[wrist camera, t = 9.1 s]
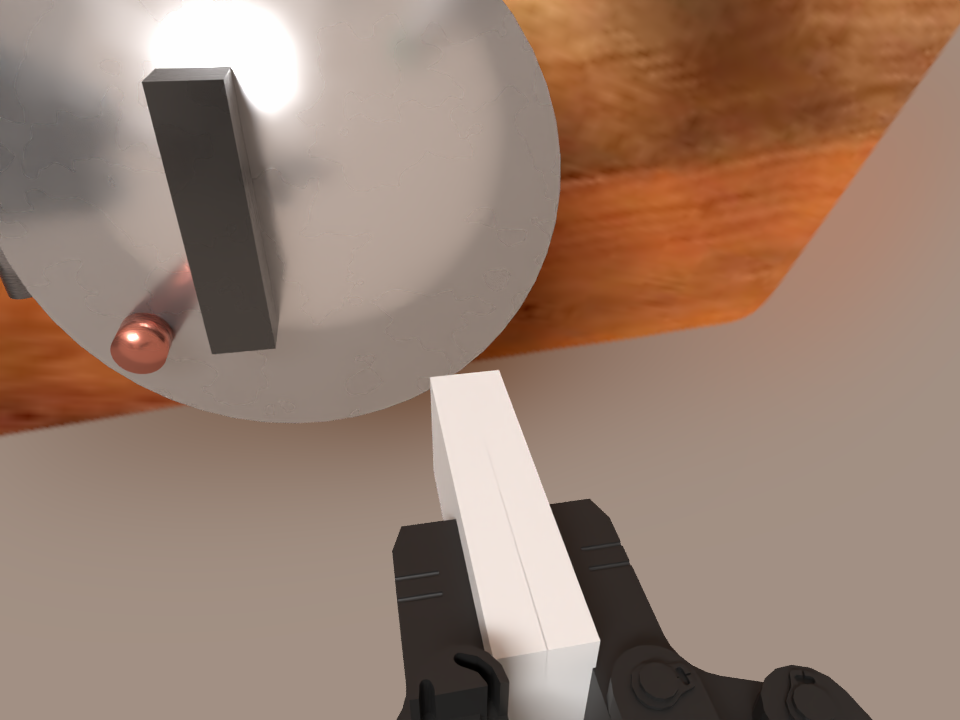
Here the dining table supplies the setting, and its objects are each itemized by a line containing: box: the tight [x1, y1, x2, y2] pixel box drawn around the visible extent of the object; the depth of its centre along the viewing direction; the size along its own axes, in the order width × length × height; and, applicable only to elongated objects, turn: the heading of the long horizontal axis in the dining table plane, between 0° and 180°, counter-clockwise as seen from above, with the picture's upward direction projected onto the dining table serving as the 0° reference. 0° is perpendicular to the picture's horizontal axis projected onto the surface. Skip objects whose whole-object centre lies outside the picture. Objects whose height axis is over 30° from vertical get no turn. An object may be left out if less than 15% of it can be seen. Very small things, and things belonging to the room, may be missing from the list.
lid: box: [0, 0, 560, 423], centre depth 25 cm, size 22×21×3 cm
